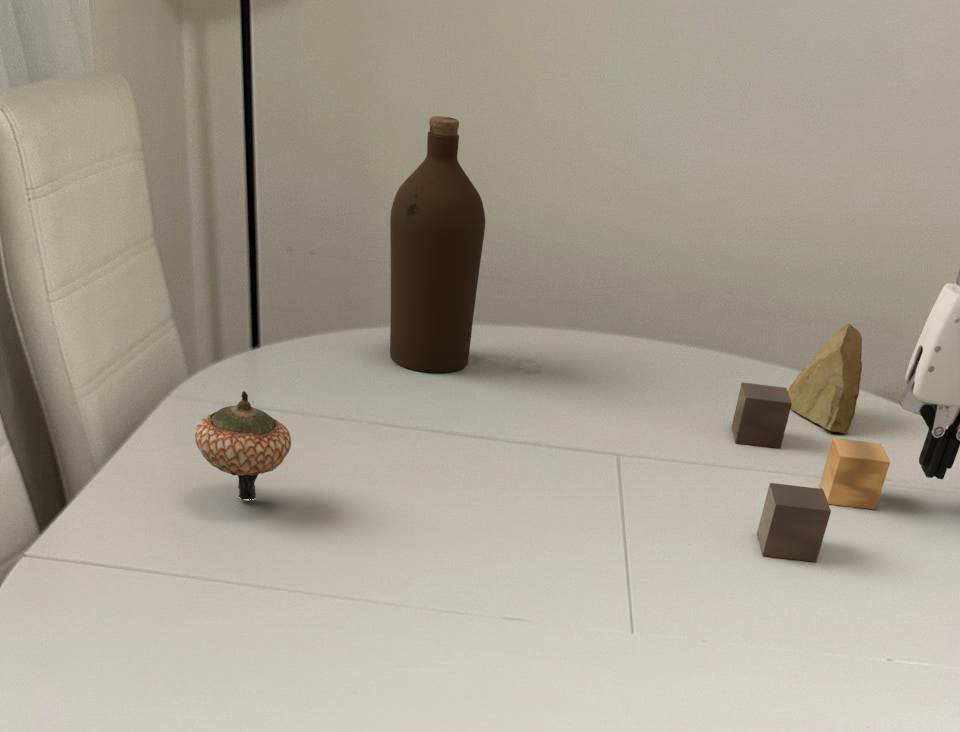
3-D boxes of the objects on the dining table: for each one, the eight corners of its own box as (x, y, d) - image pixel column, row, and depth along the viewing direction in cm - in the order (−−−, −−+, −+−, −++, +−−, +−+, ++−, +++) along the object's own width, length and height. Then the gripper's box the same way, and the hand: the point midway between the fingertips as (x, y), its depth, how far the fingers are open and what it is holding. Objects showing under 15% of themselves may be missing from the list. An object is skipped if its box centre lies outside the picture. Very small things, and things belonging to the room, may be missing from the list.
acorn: (182, 508, 107) (175, 395, 101) (225, 475, 113) (220, 367, 107) (268, 528, 106) (265, 414, 99) (306, 493, 112) (306, 385, 105)
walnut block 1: (775, 432, 136) (786, 387, 133) (780, 448, 132) (792, 403, 129) (731, 426, 136) (741, 382, 133) (735, 443, 132) (745, 397, 129)
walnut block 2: (808, 539, 114) (823, 488, 111) (816, 562, 111) (831, 511, 107) (756, 532, 114) (769, 482, 111) (762, 556, 111) (775, 504, 107)
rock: (877, 423, 135) (883, 383, 141) (848, 354, 130) (855, 317, 137) (786, 461, 141) (796, 422, 147) (755, 397, 137) (767, 360, 143)
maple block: (866, 490, 125) (881, 443, 122) (875, 510, 121) (890, 461, 118) (819, 484, 125) (832, 437, 122) (826, 504, 121) (840, 455, 118)
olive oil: (468, 379, 140) (489, 133, 124) (378, 368, 140) (387, 121, 124) (476, 351, 148) (497, 117, 132) (391, 341, 148) (401, 105, 132)
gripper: (1069, 278, 112) (995, 468, 124) (911, 257, 112) (852, 449, 124) (1095, 301, 107) (1014, 498, 118) (928, 278, 106) (864, 478, 118)
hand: (931, 472), depth 121 cm, fingers closed
